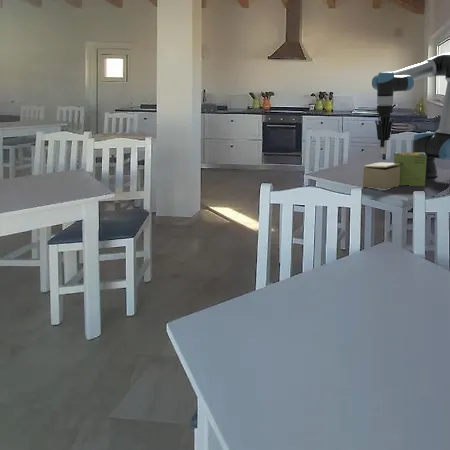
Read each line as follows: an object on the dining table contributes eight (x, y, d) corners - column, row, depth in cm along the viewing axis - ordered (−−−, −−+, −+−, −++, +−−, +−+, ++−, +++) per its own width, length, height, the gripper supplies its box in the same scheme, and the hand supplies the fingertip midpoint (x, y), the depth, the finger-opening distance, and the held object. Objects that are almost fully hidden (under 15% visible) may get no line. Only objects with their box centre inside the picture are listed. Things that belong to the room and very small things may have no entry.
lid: (379, 163, 327) (379, 162, 327) (400, 164, 319) (400, 162, 319) (363, 167, 318) (363, 165, 318) (385, 167, 309) (385, 166, 309)
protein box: (425, 186, 321) (427, 155, 317) (393, 185, 324) (394, 154, 320) (423, 182, 331) (425, 152, 327) (392, 181, 334) (393, 152, 330)
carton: (378, 183, 330) (379, 164, 327) (399, 186, 321) (400, 166, 319) (362, 187, 320) (363, 167, 318) (384, 190, 312) (385, 170, 309)
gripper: (385, 103, 318) (383, 151, 324) (370, 105, 309) (369, 154, 315) (398, 104, 313) (397, 152, 319) (384, 106, 304) (382, 155, 310)
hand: (383, 153), depth 317 cm, fingers closed
